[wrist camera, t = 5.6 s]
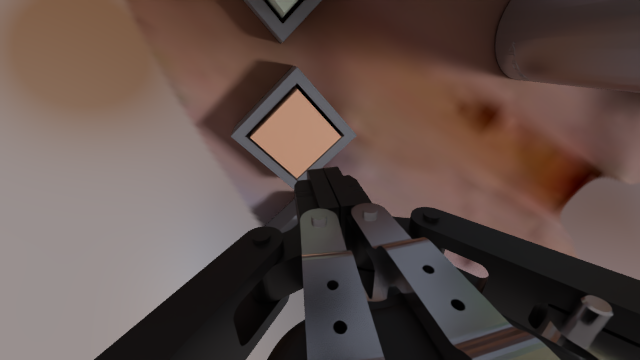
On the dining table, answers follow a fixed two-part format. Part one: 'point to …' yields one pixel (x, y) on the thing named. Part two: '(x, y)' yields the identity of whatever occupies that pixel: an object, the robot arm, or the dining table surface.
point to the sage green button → (282, 6)
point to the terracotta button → (294, 133)
